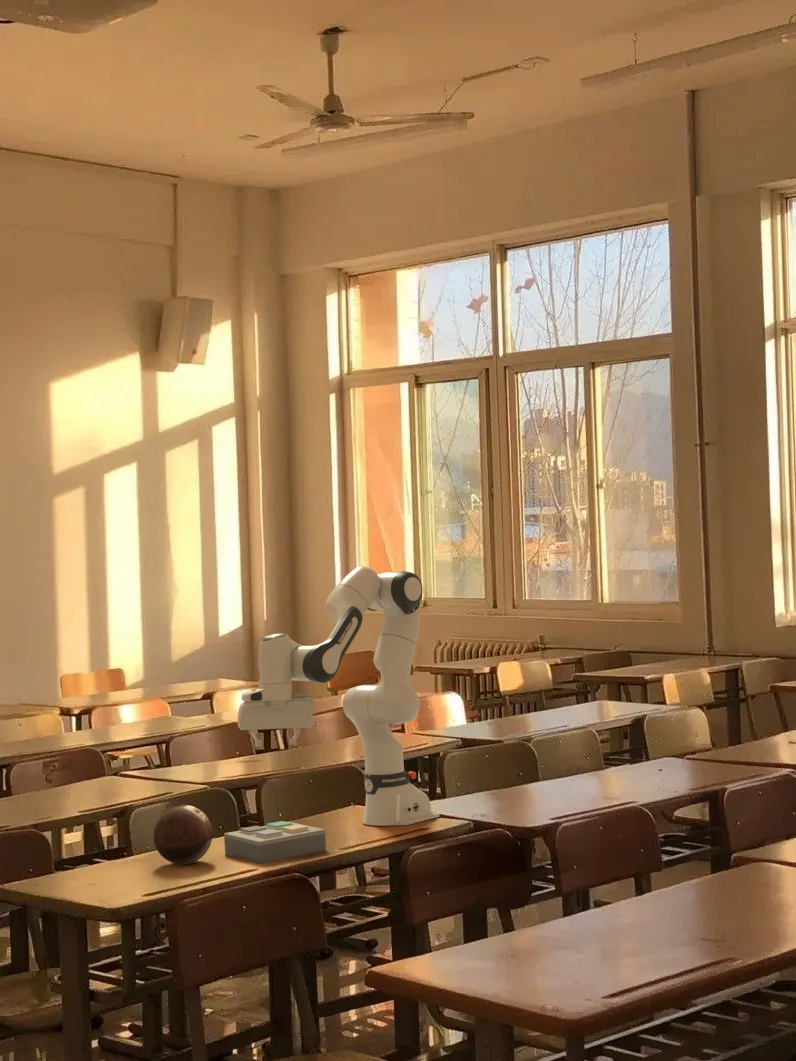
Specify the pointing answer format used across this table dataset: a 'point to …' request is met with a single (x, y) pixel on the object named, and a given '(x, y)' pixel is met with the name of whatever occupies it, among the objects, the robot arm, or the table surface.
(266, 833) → the key
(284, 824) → the key
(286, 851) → the keypad
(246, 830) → the key
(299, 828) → the key
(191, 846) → the wooden sphere
